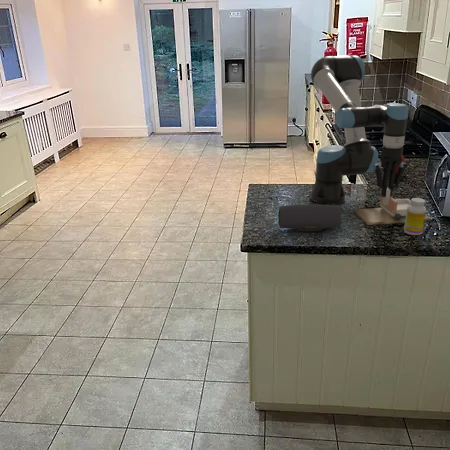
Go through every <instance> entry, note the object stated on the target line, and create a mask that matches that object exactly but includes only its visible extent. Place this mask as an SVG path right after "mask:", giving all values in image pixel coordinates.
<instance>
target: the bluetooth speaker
mask: <svg viewBox="0 0 450 450" xmlns="http://www.w3.org/2000/svg"><path fill="white" fill-rule="evenodd" d="M277 219H278V226H279V228H280V229H293V230H295V231H296V232H319V231H320V232H321V231H323V229H333V228H340V227H341V225H342V208H341V206H340V205H337V204H289V205H288V204H287V205H280V206H278V215H277Z"/></svg>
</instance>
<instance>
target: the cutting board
mask: <svg viewBox="0 0 450 450" xmlns="http://www.w3.org/2000/svg"><path fill="white" fill-rule="evenodd" d="M354 213H355V214H356V215H357V217H359V218H360V219H361V220H362V221H363V222H364V223H365V224H366V225H367V226H372V225H388V224H389V225H390V224H403V223H404V224H405V218H406V216H401V219H399V220H396V219H395V218H394V216H392V215H390V214H389V213H388V212H387V211H386V210H385V209H383V208H382V207H375V208H374V207H373V208H372V207H371V208H359V209H358V208H357V209H354ZM431 221H432V218H431V217H430V216H428V215H427V214H426V216H425V222H431Z"/></svg>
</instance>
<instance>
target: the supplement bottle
mask: <svg viewBox="0 0 450 450" xmlns="http://www.w3.org/2000/svg"><path fill="white" fill-rule="evenodd" d="M410 201H411V205H409V206H408V207H407V212H406V218H405V223H404V227H403V231H404V232H405V233H406V234H407V235H412V236H420V235H422V234H423V232H424V228H425V227H424V226H425V222H426V221H425V216H426V215H427V208H426V207H425V203H426V200H425V199H423V198H420V197H413V198H411V200H410Z"/></svg>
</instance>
